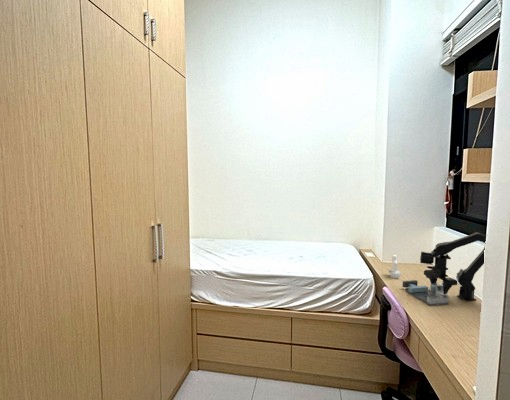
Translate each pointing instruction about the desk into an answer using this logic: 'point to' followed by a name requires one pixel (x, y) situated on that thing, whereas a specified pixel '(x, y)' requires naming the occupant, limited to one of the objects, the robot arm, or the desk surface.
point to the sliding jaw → (414, 286)
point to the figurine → (394, 268)
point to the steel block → (437, 289)
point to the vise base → (424, 296)
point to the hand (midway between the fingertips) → (439, 291)
